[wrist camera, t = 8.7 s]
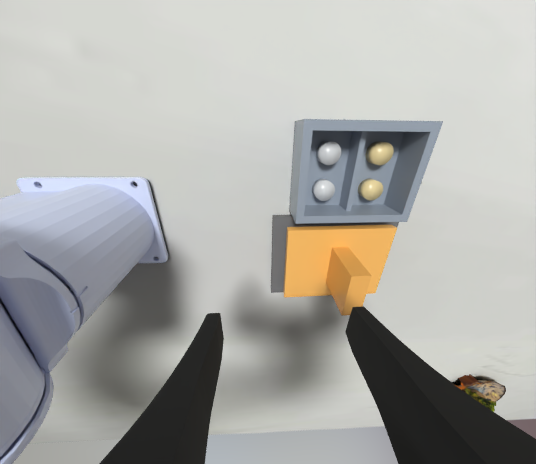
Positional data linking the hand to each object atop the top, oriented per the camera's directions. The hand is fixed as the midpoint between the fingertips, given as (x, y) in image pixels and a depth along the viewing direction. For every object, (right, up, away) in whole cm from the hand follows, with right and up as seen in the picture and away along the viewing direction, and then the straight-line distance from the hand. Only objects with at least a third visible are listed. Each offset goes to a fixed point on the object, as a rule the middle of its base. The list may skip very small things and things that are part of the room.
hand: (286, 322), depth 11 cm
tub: (+5, +10, +6) cm, 13 cm away
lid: (+5, +2, +9) cm, 11 cm away
